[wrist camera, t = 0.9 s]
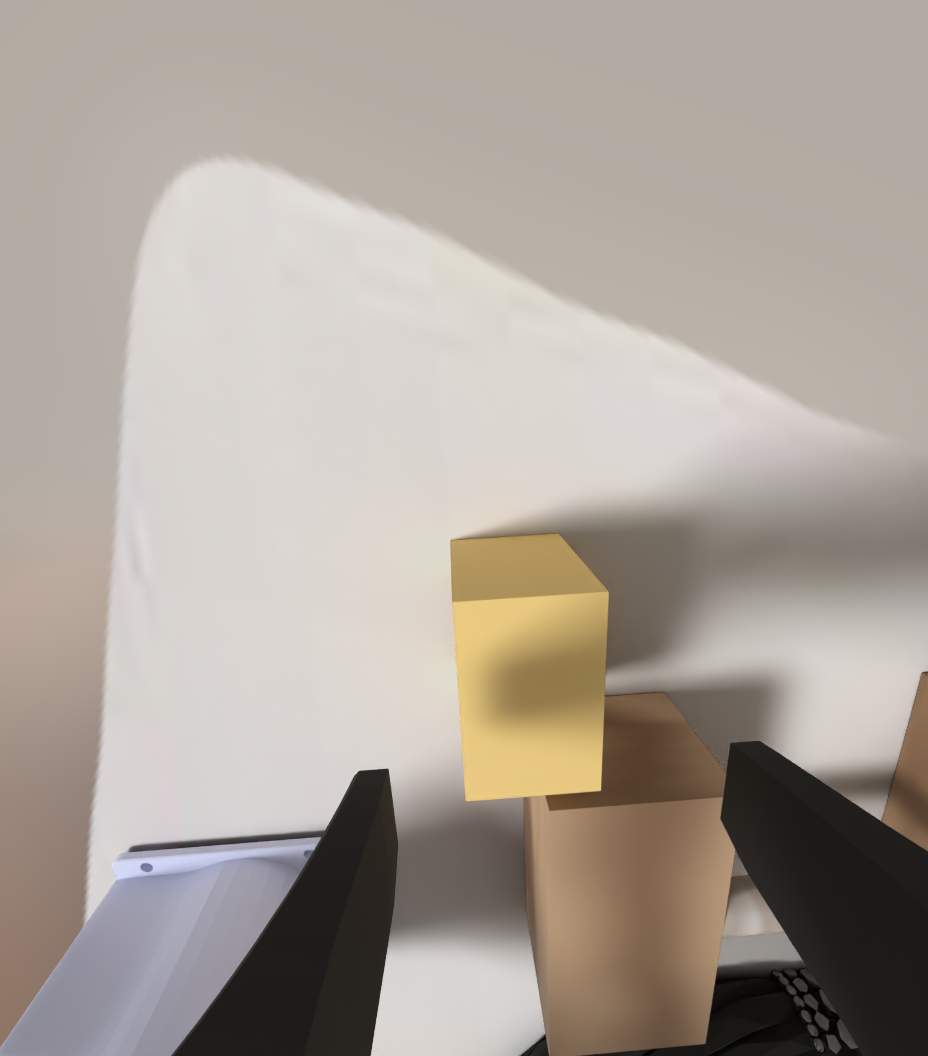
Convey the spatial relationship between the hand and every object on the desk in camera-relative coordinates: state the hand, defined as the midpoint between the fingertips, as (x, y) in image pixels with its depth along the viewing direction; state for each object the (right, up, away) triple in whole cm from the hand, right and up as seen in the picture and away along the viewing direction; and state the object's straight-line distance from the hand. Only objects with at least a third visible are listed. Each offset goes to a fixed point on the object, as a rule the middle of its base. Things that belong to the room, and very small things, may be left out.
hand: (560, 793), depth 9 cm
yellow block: (0, +2, +8) cm, 8 cm away
